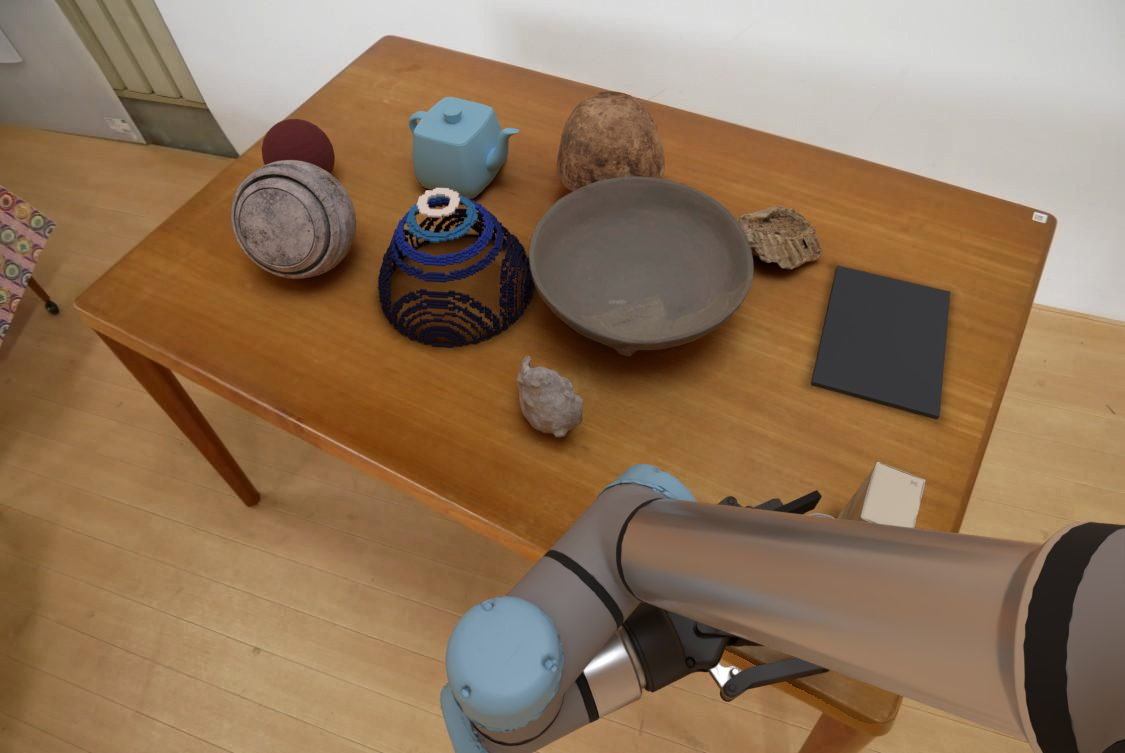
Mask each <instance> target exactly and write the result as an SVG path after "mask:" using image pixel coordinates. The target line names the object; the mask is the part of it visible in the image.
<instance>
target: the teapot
mask: <svg viewBox="0 0 1125 753" xmlns="http://www.w3.org/2000/svg"><path fill="white" fill-rule="evenodd" d="M417 120H419V122H418V121H417ZM408 127H409V129H410V132H411V133H412V149H411V150H412V154H411V155H412V156H411V157H412V166H413V172H414V176H415V179H416V180H417V182H418V183H419V184H420V185H421V186H422V188H425V189H428V190H431V191H433V189H435V188H449V190H453V191H456V192H457V193H459V195H462V196H463V197H467V199H470V200H473V199H474V198H476V197H477V196H478V195H480V194H481V193H482V192H483V191H484V190H485V189H486V188H487V187H488V186H489V185H490V184H491V183H492V181H493V180H494V179H495V178H496V176H497V174H498V173H499V172H500V169H501V167H502V166H503V165H504V163H505V162H506V160H507V158H508V156H509V149H510V147H509V146H510V145H509V144H510V143H509V142H510V138H511V137H512V136H513V135H516V134H518V133H519V132H520V129H518V128H516V127H506V128H504V129H503V128H502V126H501V124H500V121H499V119H498V116H497V114H496V111H495V110H494V108H493V107H492V106H489V105H487V104H483V103H481V102H477V101H472V100H468V99H464V98H458V97H452V96H446V97H445V96H444V97H443V98H442V99H440V100H439V101H437V102H436V103H435V104H434V105H433V106H431V108H430V109H429V110H428V111H424V110H418V111H416V112H414V113H412V114H411V115H410V116H409V119H408Z"/></svg>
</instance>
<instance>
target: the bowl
mask: <svg viewBox="0 0 1125 753" xmlns="http://www.w3.org/2000/svg"><path fill="white" fill-rule="evenodd" d="M528 247H529V248H528V257H529V262H530V270H531V275H532V278H533V282H534V288H535V289H536V291H537V293H538V295H539V297H540V298H541V300H542V301H543V302H544V304H545V305H546V306H547V307H548V309H550V311H551V312H552V313H553V314H554V315H555V316H556V317H557V318H558V319H559V320H561V321H562V322H563V323H564V324H566V325H567V326H568V327H570V328H571V329H572V330H574V331H575V332H577V333H578V334H580V335H581V336H583V337H585V338H587V339H590V340H592V341H595V342H597V343H600V344H602V345H605V346H607V347H610V348H613V349H614V350H615V351H616V352H617V353H618V354H619V355H622V356H626V357H631V356H632V355H633V354H635V353H636V352H637V351H656V350H657V351H659V350H665V349H670V348H675V347H680V346H682V345H685V344H689V343H692V342H694V341H697V340H699V339H702V338H704V337H706V336H708V335H709V334H711V333H713V332H715V331H716V330H718V329H719V328H721V327H722V326H723V325H724V324H726V322H728V321H729V320H730V319H731V318H732V316H733V315H734V314H735V313H736V312H737V311H738V309H739V308H740V307H741V306H742V303H744V301H745V299H746V298H747V295H748V294H749V292H750V290H751V288H752V285H753V279H754V271H755V270H754V257H753V255H752V252H751V247H750V244H749V242H748V239H747V237H746V234H745V232H744V230H743V229H742V227H741V225H740V224H739V222H738V219H737V218H736V217H735V216H734V215H733V214H732V212H731V211H730V210H729V209H728V208H727V207H726V206H724V205H723V204H722V203H720V202H719V201H718V200H716V199H715V198H714V197H712V196H710V195H708V194H706V193H704V192H702V191H700V190H699V189H697V188H695V187H691V186H689V185H686V184H683V183H682V182H681V183H680V182H678V181H674V180H670V179H665V178H661V179H660V178H653V177H637V176H635V177H619V178H611V179H606V180H601V181H597V182H594V183H591V184H589V185H586V186H584V187H581V188H579V189H577V190H575V191H573V192H572V191H571V192H570V193H567V194H566V195H564V196H563V197H561V198H559V199H558V200H557V201H556V202H554V203H553V204H552V205H551V206H550V207H549V208H548V209H547V210H546V212H545V213H543V215H542V216H541V217H540V220H539V221H538V223H537V224H536V226H535V227H534V230H533V232H532V235H531V238H530V240H529V246H528Z"/></svg>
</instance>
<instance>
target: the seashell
mask: <svg viewBox="0 0 1125 753" xmlns="http://www.w3.org/2000/svg"><path fill="white" fill-rule="evenodd" d="M737 221H738V222H739V224H740V225H741V227H742V229H743V230H744V232H745V234H746V237H747V239H748V242H749V244H750V247H751V252H752V256H755V257H758V259H760V261H762V262H764V263H767V264H769V263H777V264H778V266H779V267H780V268H782V269H784V270H793V269H794V268H795V269H796V268H799V267H801V266H802V265H804V264H806V263H807V262H814V261H816V260H819V259H820V258H821V257H822V255H823V248H821V244H820V241H819V236H818V235H817V230H816V226H814V225H813V226H812V225H811V221H810V220H806V218H805V217H804V216H803V215H802V214H801V213H799V212H797V211H796V210H795V209H794V208H792V207H786V206H785V205H783V206H781V205H773V206H769V207H766V208H763V209H760V210H758V211H755V212H748V213H744V214H741V215H740V216H739V217H738V219H737Z"/></svg>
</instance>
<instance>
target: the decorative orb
mask: <svg viewBox="0 0 1125 753" xmlns="http://www.w3.org/2000/svg"><path fill="white" fill-rule="evenodd" d="M230 215H231V217H230V218H231V219H230V220H231V226H232V229H233V232H234V236H235V239H236V241H237V243H238V245H239V246H240V248H241V249H242V251H243V252H244V254H245V255H246V256H247V257H248V258H249V260H251V261H252V262H253V263H254V264H256V265H257V267H259V268H261V269H263V270H264V271H266V272H268V273H270V274H272V275H274V276H277V277H280V278H284V279H290V280H291V279H292V280H299V279H300V280H301V279H308V278H314V277H317V276H321V275H323V274H325V273H328V272H329V271H331V270H333V269H334V268H336V267H337V266H338V265H339V264H341V262H342V261H343V260H345V258H346V256H347V255H348V254H349V253H350V250H351V249H352V246H353V244H354V241H355V237H356V233H357V214H356V210H355V206H354V204H353V201H352V198H351V196H350V195H349V193H348V191H347V189H346V188H345V187H344V185H343V184H342V183H341V182H340V181H339V179H337V178H336V177H335V176H334V175H333V174H332V173H331V174H330V173H329V172H327V171H325V170H324V169H322V168H320V167H318V166H316V165H313V164H310V163H307V162H303V161H297V160H283V161H277V162H273V163H270V164H267V165H262V166H261V167H259V168H257V169H256V170H254V171H253V172H252V173H250V174H249V175H248V176H246V177H245V179H243V180H242V182H241V183H240V185H239V186H238V188H237V189H236V191H235V193H234V196H233V200H232V204H231V214H230Z"/></svg>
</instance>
